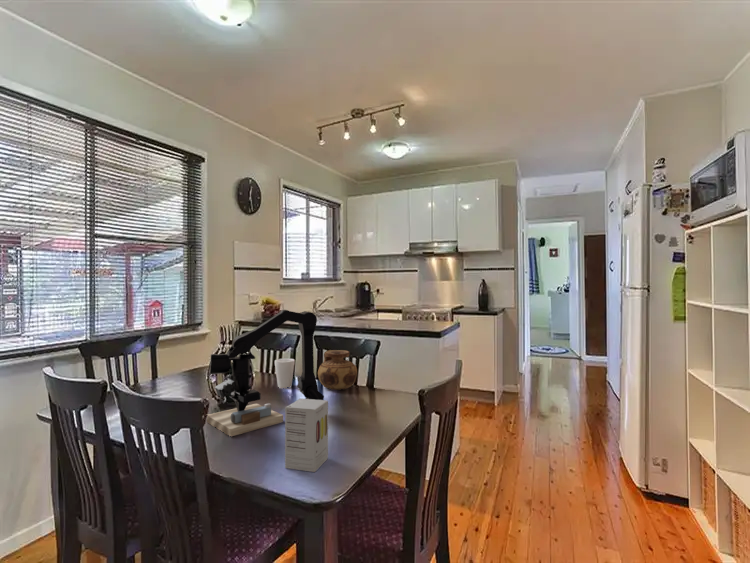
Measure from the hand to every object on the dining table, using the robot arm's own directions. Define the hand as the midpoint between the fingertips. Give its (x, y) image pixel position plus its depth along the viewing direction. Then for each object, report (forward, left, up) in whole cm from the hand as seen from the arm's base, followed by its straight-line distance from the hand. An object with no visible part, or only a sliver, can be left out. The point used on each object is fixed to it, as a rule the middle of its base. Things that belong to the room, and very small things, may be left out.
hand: (240, 415), depth 142 cm
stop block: (-6, -1, -1) cm, 6 cm away
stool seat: (+3, -3, -4) cm, 5 cm away
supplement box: (-41, 0, -4) cm, 41 cm away
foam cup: (+36, -40, -4) cm, 54 cm away
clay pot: (+16, -57, -4) cm, 59 cm away
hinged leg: (-3, -3, -1) cm, 4 cm away
